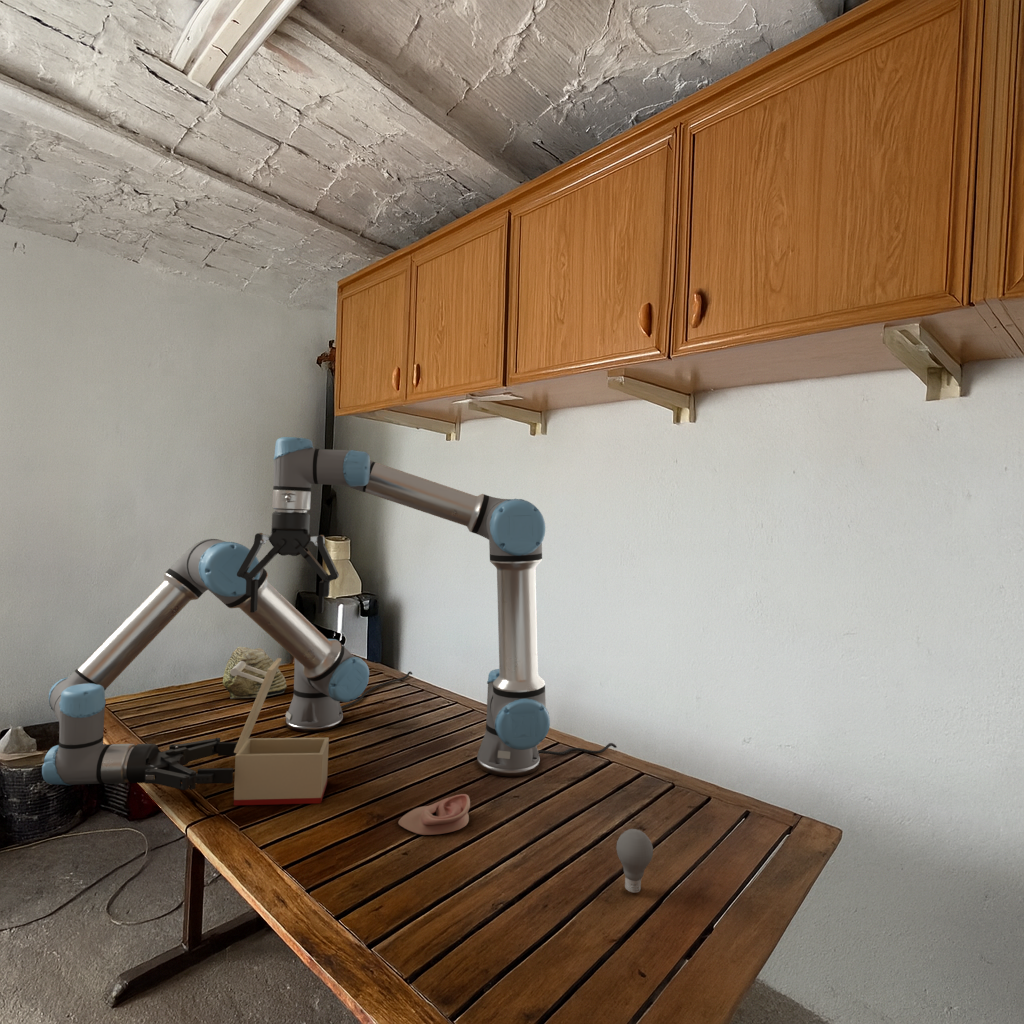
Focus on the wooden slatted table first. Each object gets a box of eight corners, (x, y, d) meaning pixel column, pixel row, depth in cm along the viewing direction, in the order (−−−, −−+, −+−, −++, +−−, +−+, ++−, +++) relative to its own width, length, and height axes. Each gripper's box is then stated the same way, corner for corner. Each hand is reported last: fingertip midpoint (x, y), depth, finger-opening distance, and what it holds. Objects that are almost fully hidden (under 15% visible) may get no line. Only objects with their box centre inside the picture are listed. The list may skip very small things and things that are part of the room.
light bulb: (610, 879, 108) (613, 822, 108) (644, 879, 109) (647, 822, 109) (619, 902, 102) (622, 840, 102) (655, 901, 103) (658, 840, 103)
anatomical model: (392, 810, 121) (414, 784, 132) (391, 830, 121) (413, 803, 132) (459, 820, 118) (475, 792, 130) (458, 841, 118) (474, 812, 130)
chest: (327, 783, 140) (329, 737, 140) (320, 803, 131) (322, 754, 131) (245, 784, 138) (247, 738, 137) (233, 805, 128) (235, 755, 128)
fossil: (218, 695, 195) (220, 647, 195) (278, 685, 208) (279, 640, 207) (228, 703, 189) (230, 653, 188) (289, 692, 201) (290, 645, 201)
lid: (281, 658, 138) (246, 646, 137) (272, 670, 129) (234, 657, 128) (249, 736, 137) (214, 724, 136) (237, 753, 128) (199, 741, 127)
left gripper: (156, 756, 142) (255, 755, 145) (102, 811, 117) (223, 808, 121) (157, 723, 142) (256, 722, 145) (103, 771, 117) (224, 769, 120)
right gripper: (223, 509, 128) (219, 614, 128) (350, 514, 131) (346, 616, 132) (234, 508, 135) (230, 607, 135) (353, 513, 139) (350, 609, 139)
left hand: (241, 761), depth 133 cm, fingers open, 13 cm apart
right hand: (287, 612), depth 134 cm, fingers open, 13 cm apart
